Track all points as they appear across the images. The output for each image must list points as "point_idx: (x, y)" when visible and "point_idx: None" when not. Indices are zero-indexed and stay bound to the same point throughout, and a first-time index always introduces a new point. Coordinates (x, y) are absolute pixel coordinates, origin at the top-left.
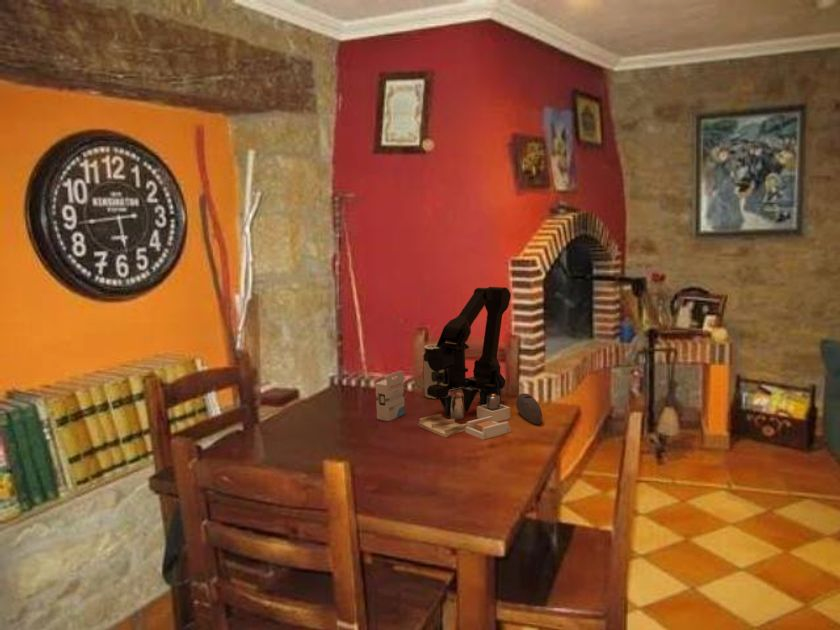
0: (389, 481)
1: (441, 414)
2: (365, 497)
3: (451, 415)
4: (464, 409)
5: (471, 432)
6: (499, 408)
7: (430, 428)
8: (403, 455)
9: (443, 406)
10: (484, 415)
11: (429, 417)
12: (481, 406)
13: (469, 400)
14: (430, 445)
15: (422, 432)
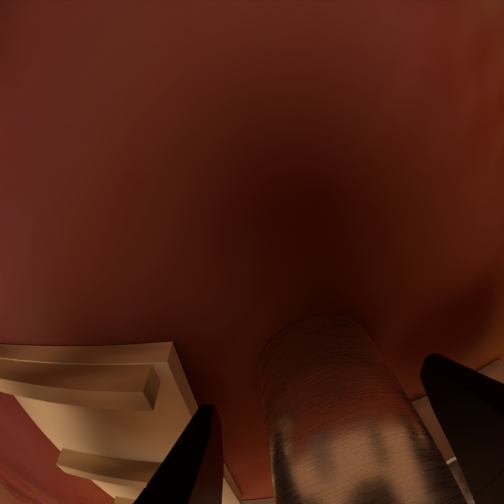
0: (17, 489)
1: (144, 408)
2: (4, 485)
3: (261, 395)
4: (433, 365)
5: None
6: None
7: (57, 446)
8: (12, 467)
9: (154, 489)
10: None
11: (36, 396)
12: (455, 458)
13: (465, 469)
14: (66, 484)
15: (29, 419)
